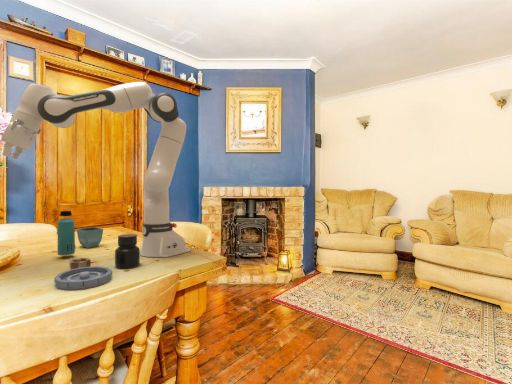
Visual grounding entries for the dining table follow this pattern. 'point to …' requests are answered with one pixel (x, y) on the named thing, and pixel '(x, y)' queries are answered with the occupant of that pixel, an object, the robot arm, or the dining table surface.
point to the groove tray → (82, 283)
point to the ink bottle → (127, 252)
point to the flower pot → (90, 236)
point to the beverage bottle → (66, 235)
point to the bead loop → (79, 263)
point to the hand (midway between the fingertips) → (10, 157)
